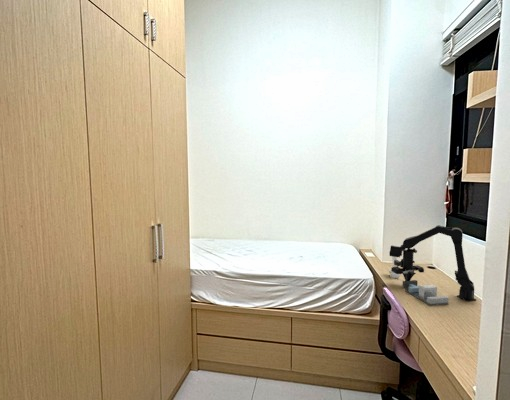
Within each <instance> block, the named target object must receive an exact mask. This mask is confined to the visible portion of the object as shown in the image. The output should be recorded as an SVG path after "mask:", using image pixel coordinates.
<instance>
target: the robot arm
mask: <svg viewBox="0 0 510 400" xmlns="http://www.w3.org/2000/svg"><path fill="white" fill-rule="evenodd" d="M438 234H442V235H445V236H448V237H450V238H451V241H452V243H453V247H454V253H455V260H456V266H457V270H454V275H455V281H456V282H457V283H458V284H459V286H460V287H459V291H458V294H457V295H456V296H457V297H458V298H459V299H461V300H463V301H466V302H472V301H473V302H474V301H477V298H475V285H474V282H473V281H472V280H471V279H470V276H469V273H468V271H467V268H466V264H465V258H464V256H465V255H464V249H463V236H464V235H463V230H462V229H461V228H459V227H449V226H444V225H439V224H438V225H436V226H434V227H432V228H430V229H428V230H425V231H424V232H421V233H420V234H416V235H414V236H410V237H407V238H405V239H404V240H403V241H402V244H401V245H400V246H396V245H393V244H392V245H390V249H389V256H390V257H392V256H393V257H397V258H400V257H402V258H401V259H400V260H399V259H398V260H394V265H397V267H393V266H392V267H391V269H390V270H391V271H392V272H394V273H396V274H401V275H403V278H404V281H411V280H412V278H413V277H414V276H415V275H416V272H415V271H417V272H419V273H424V272H425V268H424V266H423V267H422V266H420V265H418V264H417V265H414V264H415V263H416V261H415V260H414V253H415V254H417V253H418V250H417V249H416V248H415V246H417V244H419V243H420V242H423V241H425V240H427V239H429V238H431V237H434V236H435V235H438ZM458 284H457V285H458Z"/></svg>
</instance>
